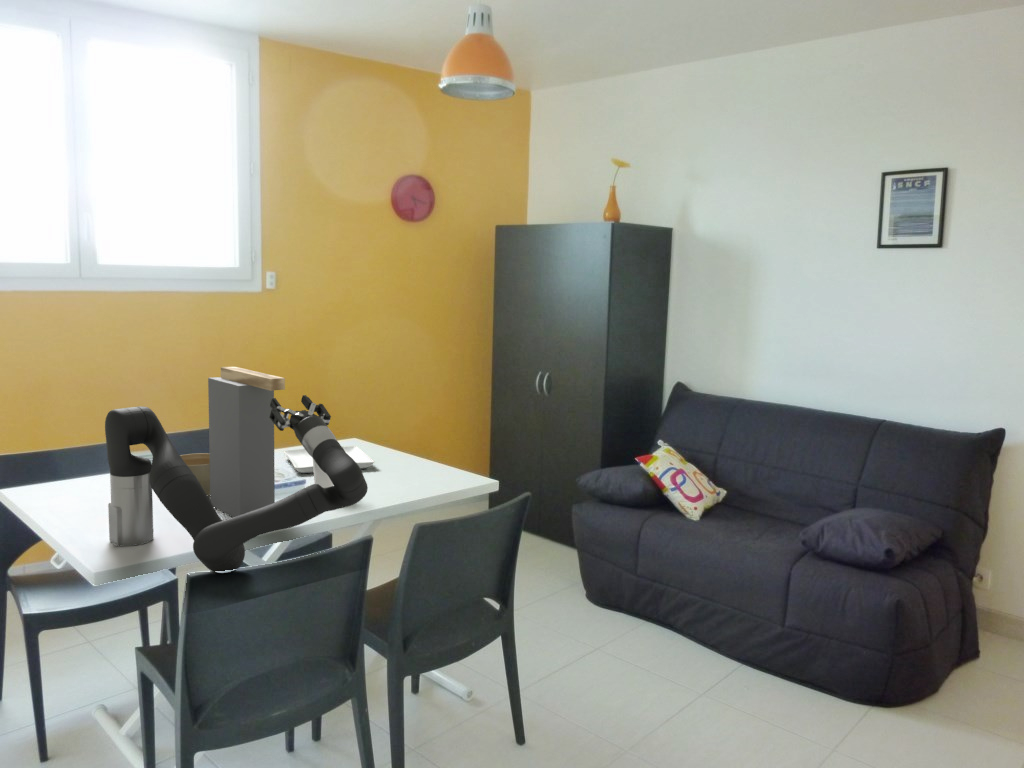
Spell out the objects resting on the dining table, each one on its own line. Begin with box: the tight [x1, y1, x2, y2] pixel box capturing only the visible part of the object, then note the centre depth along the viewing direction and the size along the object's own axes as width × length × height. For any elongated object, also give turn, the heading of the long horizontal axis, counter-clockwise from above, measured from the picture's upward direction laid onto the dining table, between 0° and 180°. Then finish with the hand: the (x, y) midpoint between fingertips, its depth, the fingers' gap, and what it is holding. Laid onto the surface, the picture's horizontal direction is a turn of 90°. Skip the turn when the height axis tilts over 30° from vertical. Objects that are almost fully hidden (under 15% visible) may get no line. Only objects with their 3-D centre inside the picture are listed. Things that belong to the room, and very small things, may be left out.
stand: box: [207, 376, 276, 518], centre depth 222 cm, size 10×20×37 cm, turn 43°
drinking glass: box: [313, 459, 334, 488], centre depth 241 cm, size 7×7×15 cm
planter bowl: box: [179, 452, 210, 497], centre depth 238 cm, size 16×16×11 cm
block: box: [220, 366, 286, 391], centre depth 214 cm, size 4×30×3 cm, turn 43°
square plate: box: [282, 445, 375, 474], centre depth 282 cm, size 27×27×4 cm
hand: (288, 399), depth 202 cm, fingers open, 8 cm apart
